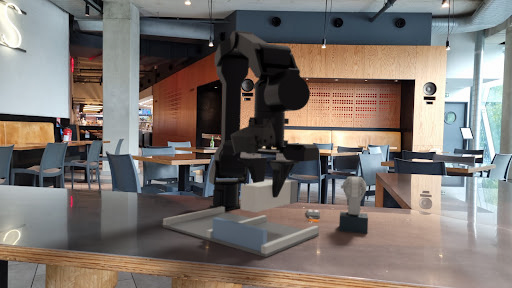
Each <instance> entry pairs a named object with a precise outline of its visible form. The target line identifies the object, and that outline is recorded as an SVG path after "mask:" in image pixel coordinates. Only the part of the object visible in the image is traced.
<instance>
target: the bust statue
mask: <svg viewBox="0 0 512 288" xmlns="http://www.w3.org/2000/svg"><path fill="white" fill-rule="evenodd" d="M367 187H368V186H367V183H366V181H365V180H364V178H363V177H361V176H351V175H350V176H347V178H345V180H344V181H343V183H342V184H340V189H342V190H343V193H344V195H345V198H346V200H348V203H347V204H348V205H347V211H340V212H339V227H338V228H339V229H338V231H339V232H346V233H347V232H348V233H359V234H368V233H369V232H368V231H369V230H368V228H369V216H368V213H366V212H365V213H364V212H361V201H362V200H363V198H364V195H365V194H366V192H367Z"/></svg>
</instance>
